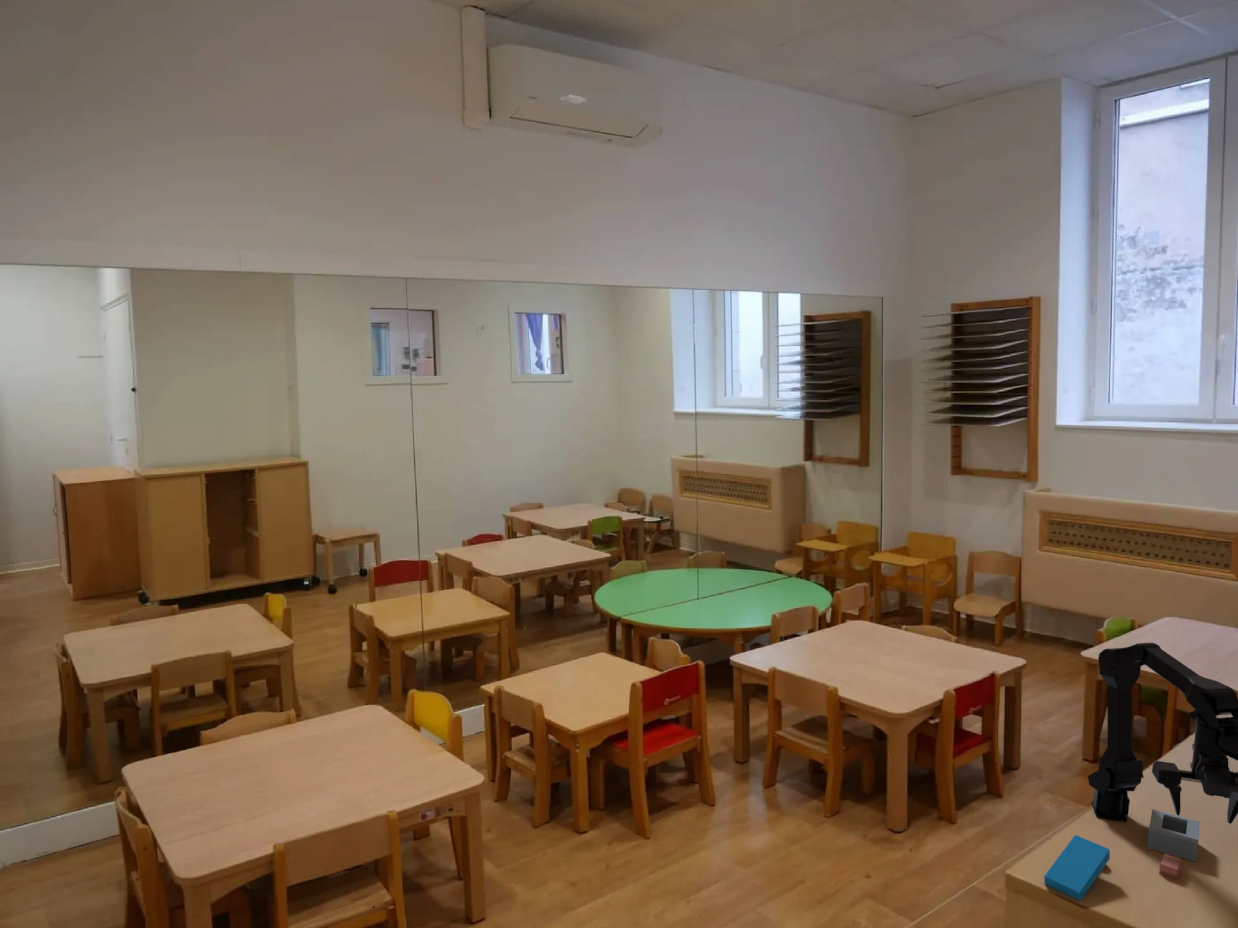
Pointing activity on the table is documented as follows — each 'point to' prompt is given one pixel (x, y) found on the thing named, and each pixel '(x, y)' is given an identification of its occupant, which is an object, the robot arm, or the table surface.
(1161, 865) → the pink rectangular block
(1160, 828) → the posting box
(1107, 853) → the blue rectangular box
